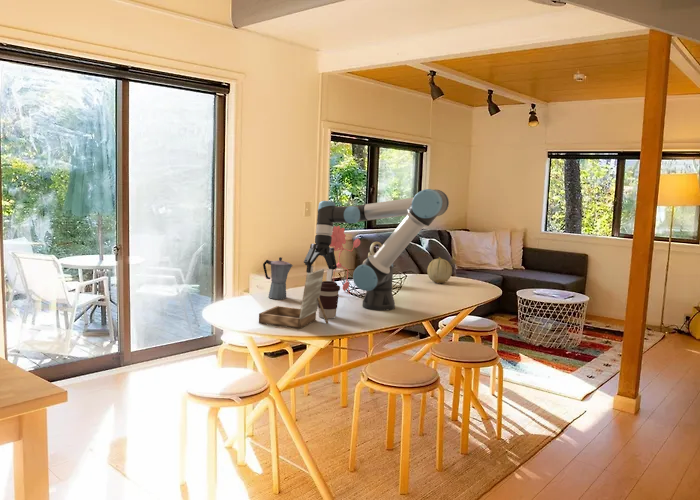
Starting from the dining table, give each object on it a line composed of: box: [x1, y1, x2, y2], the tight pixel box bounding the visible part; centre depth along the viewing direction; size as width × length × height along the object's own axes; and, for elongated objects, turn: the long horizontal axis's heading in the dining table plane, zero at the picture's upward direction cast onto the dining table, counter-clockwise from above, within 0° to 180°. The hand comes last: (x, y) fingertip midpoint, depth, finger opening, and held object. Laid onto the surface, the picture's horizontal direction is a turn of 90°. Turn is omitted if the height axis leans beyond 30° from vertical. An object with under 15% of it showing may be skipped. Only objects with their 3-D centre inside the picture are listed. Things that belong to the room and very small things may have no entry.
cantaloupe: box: [426, 256, 453, 284], centre depth 345 cm, size 15×15×15 cm
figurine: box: [329, 225, 361, 295], centre depth 301 cm, size 15×26×35 cm, turn 134°
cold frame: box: [258, 268, 329, 330], centre depth 236 cm, size 24×16×22 cm, turn 71°
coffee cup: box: [318, 280, 341, 320], centre depth 249 cm, size 10×10×15 cm
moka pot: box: [262, 257, 294, 300], centre depth 283 cm, size 10×15×20 cm, turn 78°
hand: (319, 282), depth 262 cm, fingers open, 13 cm apart
